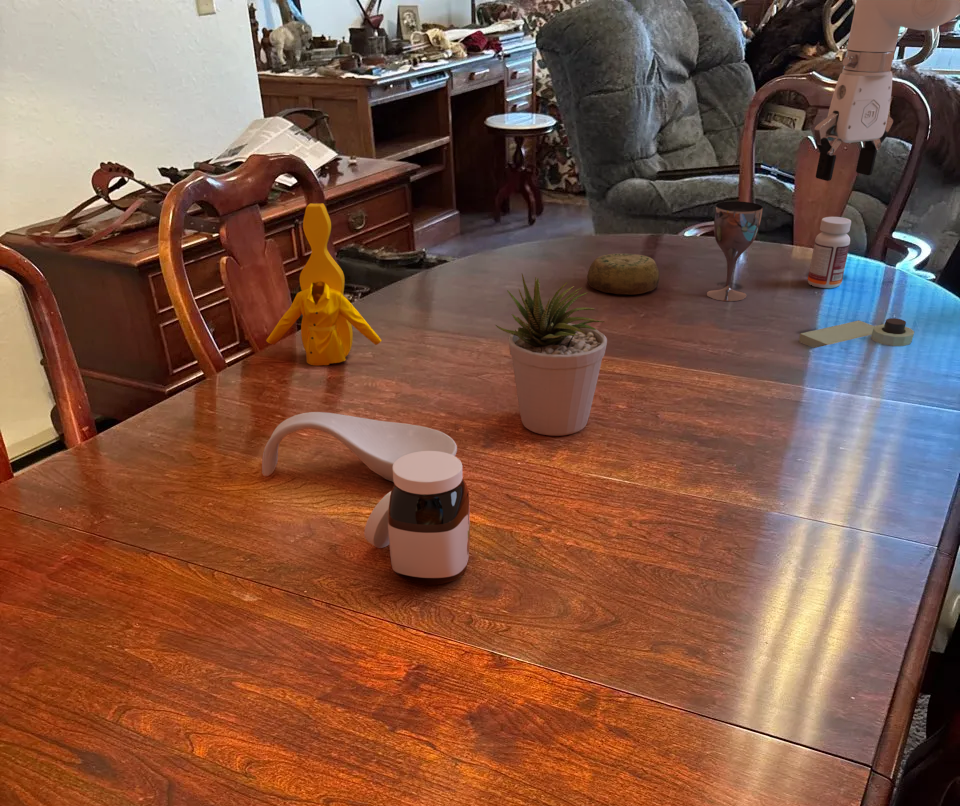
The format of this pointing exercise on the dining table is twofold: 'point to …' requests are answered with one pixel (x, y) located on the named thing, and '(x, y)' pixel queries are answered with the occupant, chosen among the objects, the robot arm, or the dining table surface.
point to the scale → (855, 335)
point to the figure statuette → (322, 300)
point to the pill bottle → (830, 253)
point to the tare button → (894, 326)
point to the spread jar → (424, 519)
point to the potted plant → (554, 363)
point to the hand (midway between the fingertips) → (843, 176)
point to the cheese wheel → (623, 274)
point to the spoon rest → (362, 439)
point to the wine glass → (734, 239)
